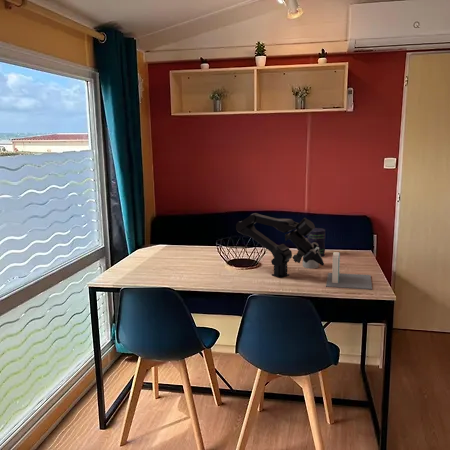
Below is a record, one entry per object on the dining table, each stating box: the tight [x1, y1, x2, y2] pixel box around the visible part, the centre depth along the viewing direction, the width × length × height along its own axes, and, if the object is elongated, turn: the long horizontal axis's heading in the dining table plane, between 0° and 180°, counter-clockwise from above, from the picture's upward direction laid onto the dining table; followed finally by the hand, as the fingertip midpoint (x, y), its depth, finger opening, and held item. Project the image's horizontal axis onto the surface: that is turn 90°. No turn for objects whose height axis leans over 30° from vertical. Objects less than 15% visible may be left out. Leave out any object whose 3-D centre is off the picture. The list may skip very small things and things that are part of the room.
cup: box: [302, 247, 320, 270], centre depth 239 cm, size 8×8×10 cm
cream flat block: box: [331, 251, 341, 283], centre depth 215 cm, size 3×10×12 cm, turn 165°
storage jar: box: [307, 227, 326, 258], centre depth 260 cm, size 10×10×15 cm
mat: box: [325, 272, 373, 291], centre depth 215 cm, size 20×20×1 cm
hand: (323, 264), depth 216 cm, fingers closed
